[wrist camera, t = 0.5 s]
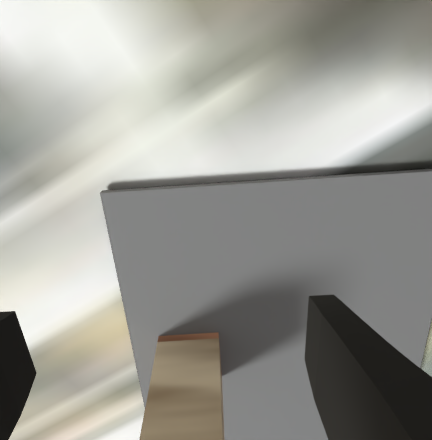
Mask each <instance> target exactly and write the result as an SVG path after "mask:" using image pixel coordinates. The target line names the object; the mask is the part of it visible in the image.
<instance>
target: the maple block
mask: <svg viewBox="0 0 432 440" xmlns="http://www.w3.org/2000/svg"><path fill="white" fill-rule="evenodd" d="M140 440H225V439H224V415H223V391H222V371H221V358H220V345H219V332H216V333H200V334H184V335H168V336H158V342H157V347H156V353H155V358H154V363H153V369H152V374H151V380H150V385H149V391H148V396H147V402H146V407H145V413H144V418H143V423H142V429H141V434H140Z"/></svg>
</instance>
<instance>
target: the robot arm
mask: <svg viewBox="0 0 432 440" xmlns="http://www.w3.org/2000/svg"><path fill="white" fill-rule="evenodd" d="M305 364H306V368H307V372H308V377H309V381H310V385H311V389H312V393H313V397H314V401H315V404H316V406H317V409H318V412H319V415H320V418H321V421H322V423H323V426H324V429H325V432H326V435H327V437H328V440H432V377H431V376H429V375H428V374H427V373H425V372H424V371H423V370H422V369H420V368H419V367H418V366H417V365H415V364H414V363H413V362H412V361H410V360H409V359H408V358H407V357H405V356H404V355H403V354H402V353H400V352H399V351H398V350H397V349H396V348H394V347H393V346H392V345H391V344H390V343H388V342H387V341H386V340H385V339H384V338H383V337H381V336H380V335H379V334H378V333H377V332H376V331H374V330H373V329H372V328H371V327H370V326H369V325H368V324H367V323H365V322H364V321H363V320H362V319H361V318H360V317H359V316H358V315H356V314H355V313H354V312H353V311H352V310H351V309H350V308H349V307H347V306H346V305H345V304H344V303H343V302H342V301H341V300H340V299H338V298H337V297H336V296H335V295H315V296H309V300H308V315H307V329H306V344H305ZM35 376H36V370H35V367H34V365H33V362H32V359H31V356H30V353H29V350H28V347H27V344H26V342H25V339H24V336H23V333H22V330H21V327H20V324H19V321H18V319H17V316H16V313H15V311H11V312H0V440H8V439H9V437H10V435H11V434H12V432H13V430H14V428H15V426H16V424H17V422H18V420H19V418H20V416H21V413H22V411H23V408H24V406H25V403H26V401H27V398H28V396H29V393H30V390H31V387H32V384H33V382H34V379H35Z"/></svg>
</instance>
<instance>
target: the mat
mask: <svg viewBox="0 0 432 440" xmlns="http://www.w3.org/2000/svg"><path fill="white" fill-rule="evenodd" d="M100 195H101V200H102V205H103V210H104V214H105V219H106V224H107V229H108V234H109V238H110V243H111V248H112V253H113V258H114V262H115V267H116V272H117V277H118V281H119V286H120V291H121V296H122V301H123V305H124V310H125V315H126V320H127V325H128V329H129V334H130V339H131V344H132V349H133V353H134V358H135V363H136V368H137V373H138V377H139V382H140V387H141V392H142V397H143V401H144V406H145V407H146V402H147V396H148V391H149V385H150V380H151V374H152V369H153V363H154V358H155V353H156V347H157V342H158V336H168V335H184V334H200V333H216V332H219V345H220V358H221V371H222V391H223V415H224V439H225V440H328V437H327V435H326V432H325V429H324V426H323V423H322V421H321V418H320V415H319V412H318V409H317V406H316V404H315V401H314V397H313V393H312V389H311V385H310V381H309V377H308V372H307V368H306V364H305V344H306V329H307V315H308V300H309V296H315V295H335V296H336V297H337V298H338V299H340V300H341V301H342V302H343V303H344V304H345V305H346V306H347V307H349V308H350V309H351V310H352V311H353V312H354V313H355V314H356V315H358V316H359V317H360V318H361V319H362V320H363V321H364V322H365V323H367V324H368V325H369V326H370V327H371V328H372V329H373V330H374V331H376V332H377V333H378V334H379V335H380V336H381V337H383V338H384V339H385V340H386V341H387V342H388V343H390V344H391V345H392V346H393V347H394V348H396V349H397V350H398V351H399V352H400V353H402V354H403V355H404V356H405V357H407V358H408V359H409V360H410V361H412V362H413V363H414V364H415V365H417V366H418V367H419V368H420V367H421V363H422V358H423V354H424V350H425V345H426V341H427V337H428V333H429V328H430V324H431V320H432V169H421V170H406V171H391V172H375V173H360V174H345V175H330V176H315V177H300V178H285V179H270V180H255V181H240V182H225V183H209V184H194V185H179V186H164V187H149V188H134V189H119V190H104V191H102V192H101V193H100Z"/></svg>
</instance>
